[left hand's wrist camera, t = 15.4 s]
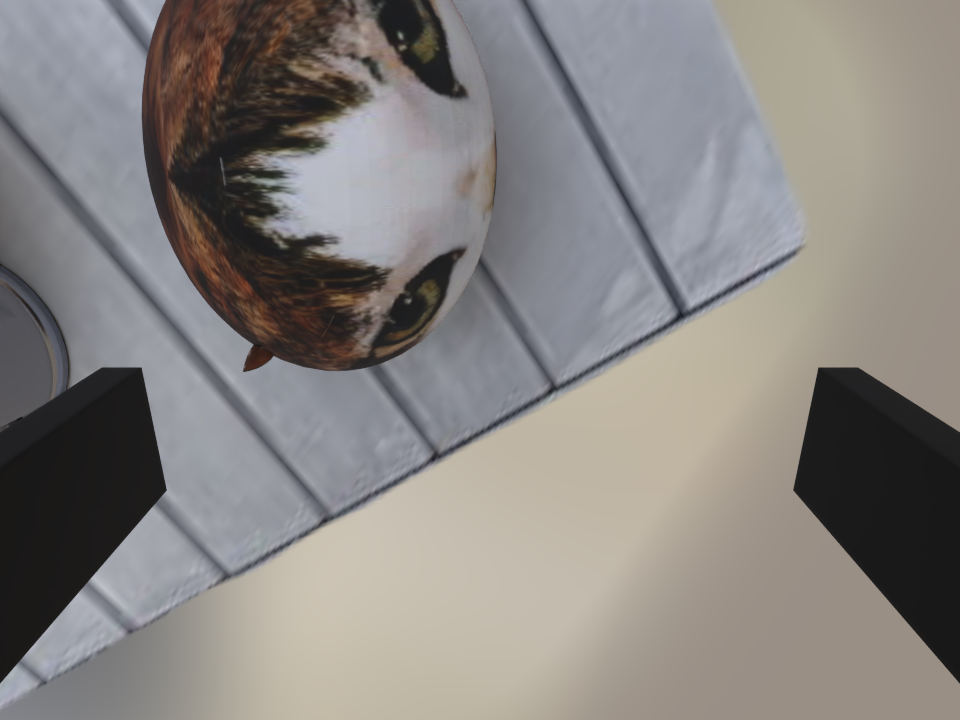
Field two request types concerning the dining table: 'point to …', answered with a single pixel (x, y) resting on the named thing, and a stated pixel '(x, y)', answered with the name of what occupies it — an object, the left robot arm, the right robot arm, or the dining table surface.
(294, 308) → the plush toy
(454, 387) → the dining table surface
